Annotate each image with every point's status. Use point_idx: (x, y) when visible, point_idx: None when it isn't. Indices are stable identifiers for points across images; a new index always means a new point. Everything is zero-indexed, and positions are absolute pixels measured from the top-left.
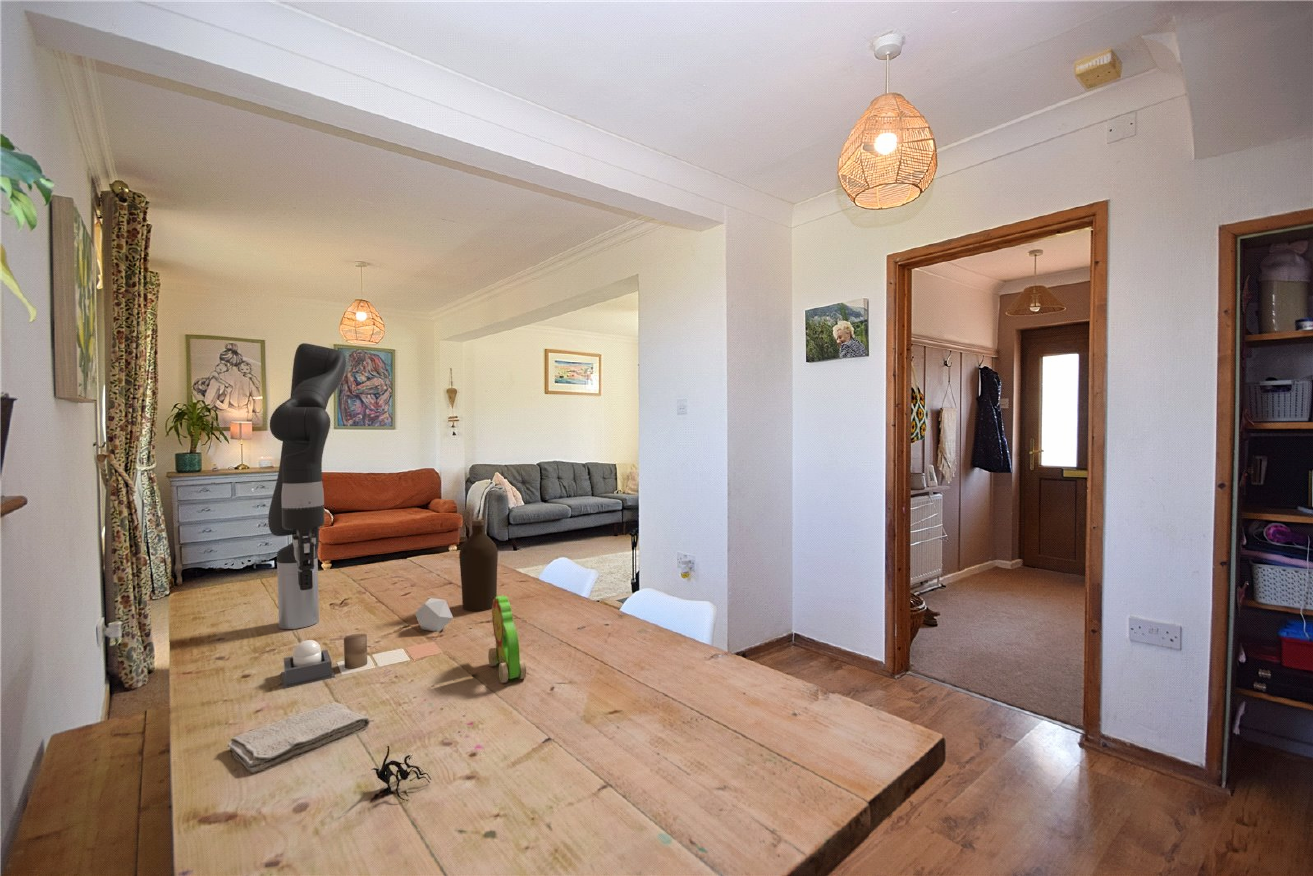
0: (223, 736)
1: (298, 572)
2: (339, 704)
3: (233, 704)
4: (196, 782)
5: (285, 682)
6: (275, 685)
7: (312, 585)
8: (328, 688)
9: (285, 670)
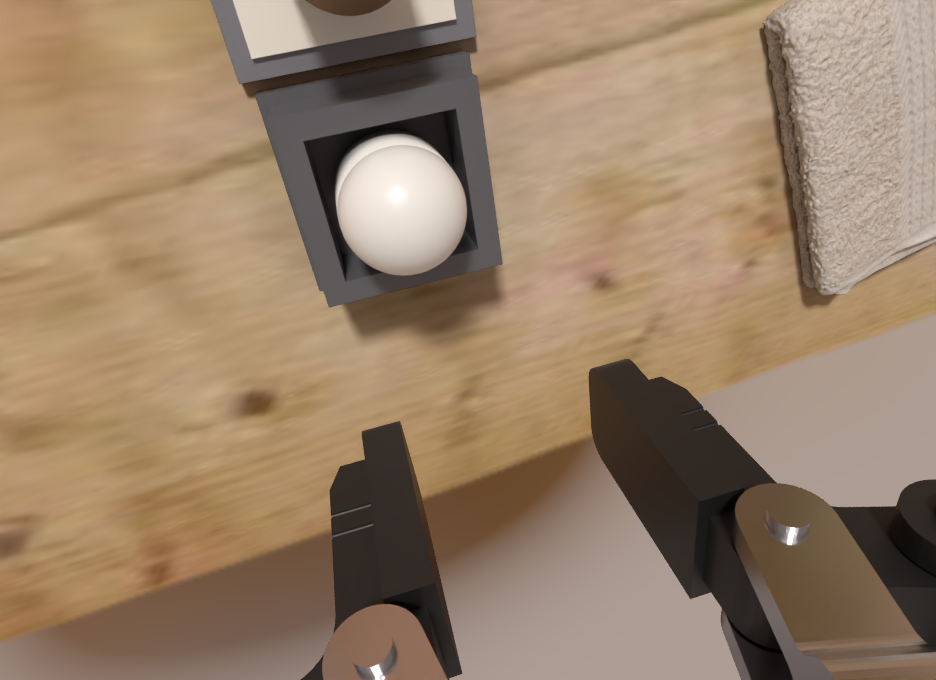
0: (717, 324)
1: (450, 622)
2: (830, 6)
3: (511, 364)
4: (900, 307)
5: None
6: None
7: (637, 370)
8: (533, 73)
9: (479, 267)
